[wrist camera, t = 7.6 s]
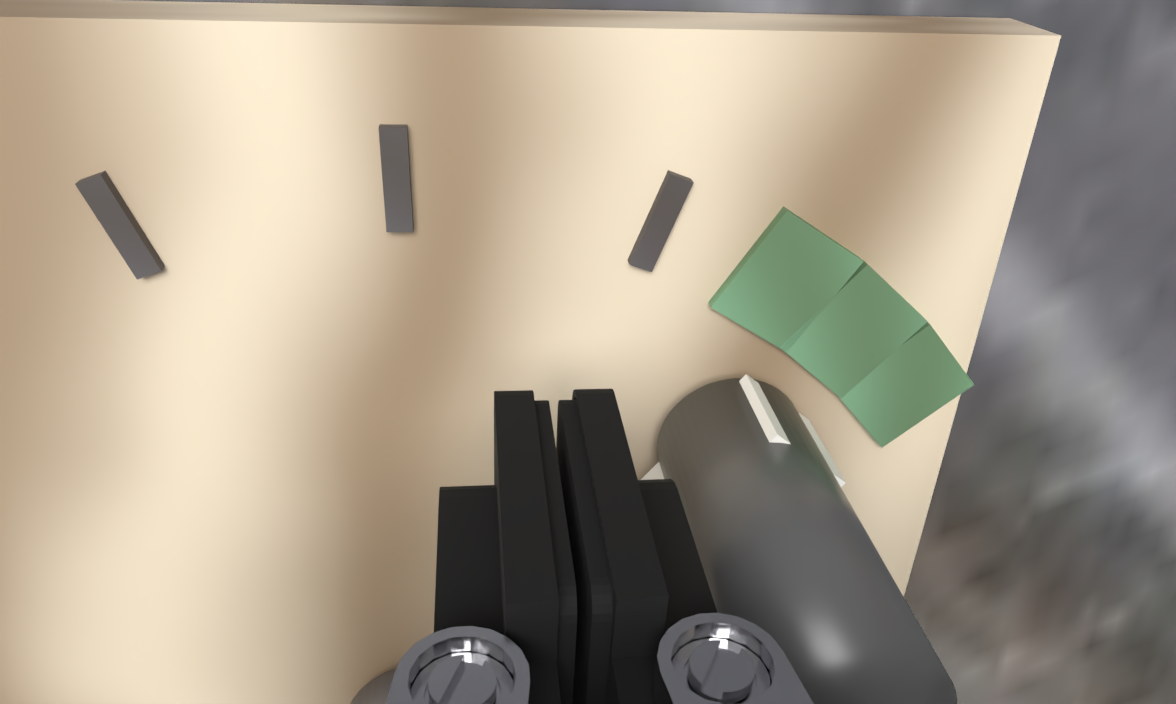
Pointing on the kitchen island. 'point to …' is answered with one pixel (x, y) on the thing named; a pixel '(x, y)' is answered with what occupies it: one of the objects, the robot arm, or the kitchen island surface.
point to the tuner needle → (786, 549)
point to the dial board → (444, 293)
